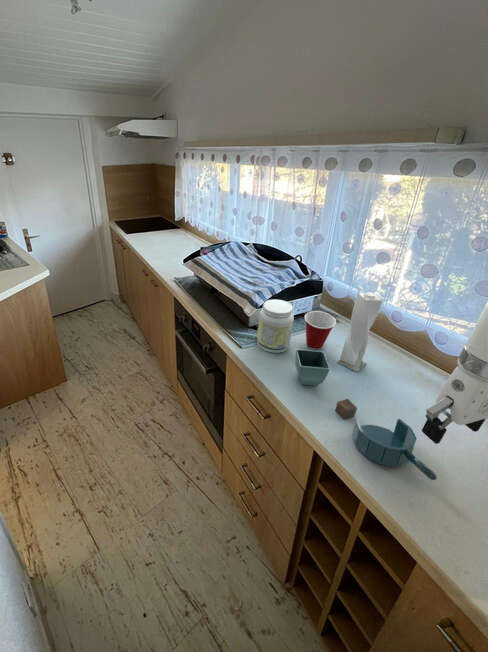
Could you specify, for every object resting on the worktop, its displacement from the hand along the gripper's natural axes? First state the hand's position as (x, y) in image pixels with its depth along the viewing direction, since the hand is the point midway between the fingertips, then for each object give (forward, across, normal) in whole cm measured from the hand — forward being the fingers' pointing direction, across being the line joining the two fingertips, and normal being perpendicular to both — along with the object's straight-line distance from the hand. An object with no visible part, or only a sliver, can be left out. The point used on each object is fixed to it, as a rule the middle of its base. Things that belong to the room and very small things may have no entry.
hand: (449, 431), depth 60 cm
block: (+15, -1, +22) cm, 26 cm away
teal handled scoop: (+17, 0, +7) cm, 19 cm away
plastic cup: (+18, +11, +53) cm, 57 cm away
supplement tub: (+18, -4, +58) cm, 61 cm away
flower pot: (+18, -3, +37) cm, 41 cm away
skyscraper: (+18, +17, +41) cm, 48 cm away
